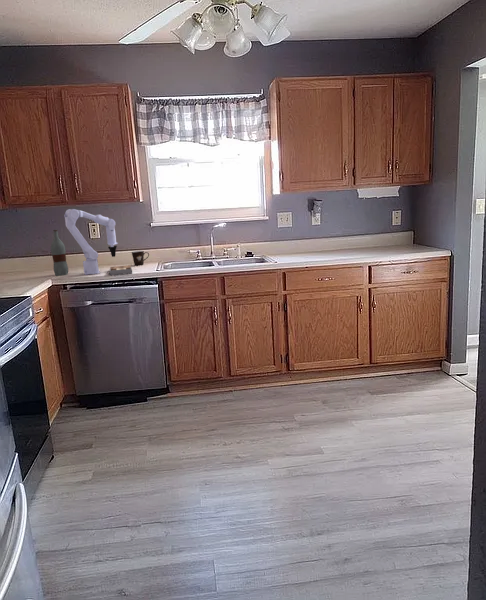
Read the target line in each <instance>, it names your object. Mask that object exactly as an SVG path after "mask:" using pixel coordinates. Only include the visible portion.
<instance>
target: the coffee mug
mask: <svg viewBox="0 0 486 600" xmlns="http://www.w3.org/2000/svg"><path fill="white" fill-rule="evenodd" d="M145 254H147V255H148V256H146V258H144V256H145ZM131 256H132V260H133V265H134V266H135V267H137V266H144V261H147V259H148V258H149V256H150V254H149V252H147V251H145V252H144V250H132V251H131Z"/></svg>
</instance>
